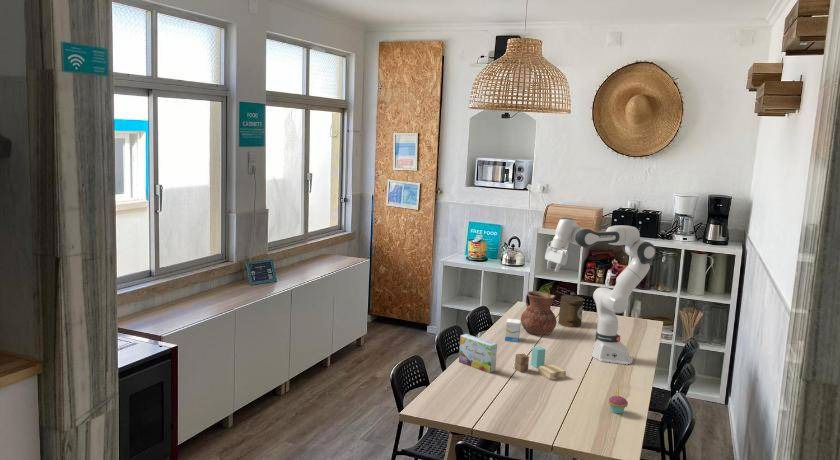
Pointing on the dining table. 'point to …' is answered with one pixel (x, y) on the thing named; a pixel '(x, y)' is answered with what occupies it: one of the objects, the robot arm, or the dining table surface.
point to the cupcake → (617, 403)
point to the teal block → (538, 356)
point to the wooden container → (570, 310)
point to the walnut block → (521, 362)
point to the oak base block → (552, 372)
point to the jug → (538, 313)
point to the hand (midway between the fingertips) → (552, 270)
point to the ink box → (512, 330)
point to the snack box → (478, 353)
